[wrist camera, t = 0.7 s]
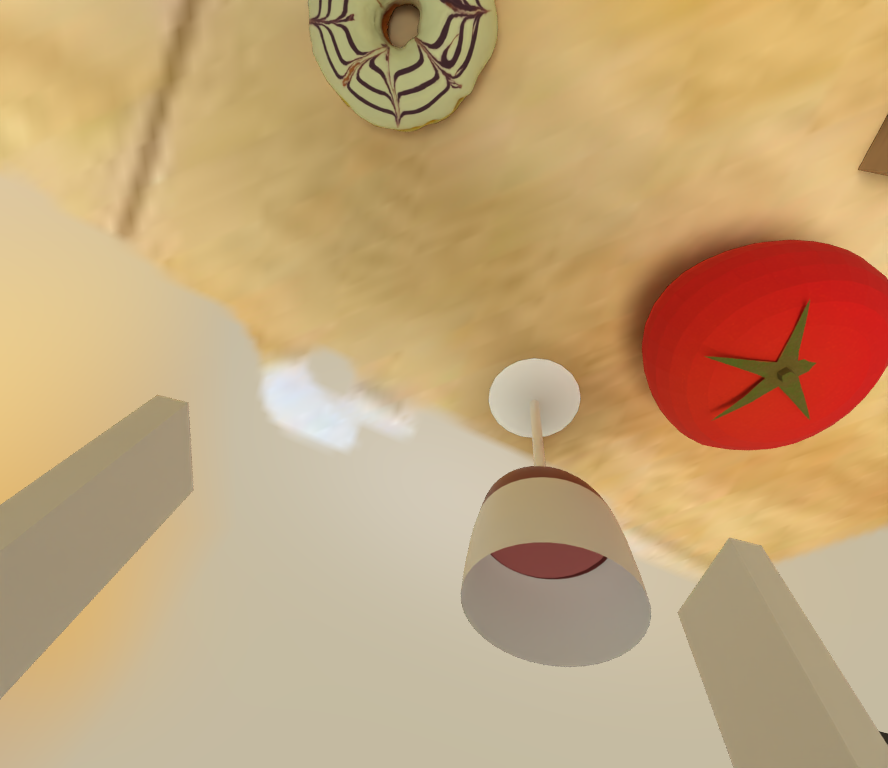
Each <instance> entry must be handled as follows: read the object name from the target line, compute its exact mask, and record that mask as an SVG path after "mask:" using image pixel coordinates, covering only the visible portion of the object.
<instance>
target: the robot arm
mask: <svg viewBox="0 0 888 768" xmlns="http://www.w3.org/2000/svg"><path fill="white" fill-rule="evenodd" d="M192 491H193V473H192V456H191V439H190V421H189V405H188V403H187V402H184V401H180V400H176V399H172V398H168V397H164V396H160V395H157V396H155V397H154V398H152V399H151V400H149V401H148V402H147V403H145V404H144V405H142V406H141V407H140V408H138V409H137V410H135V411H134V412H132V413H131V414H129V415H128V416H127V417H125V418H124V419H122V420H121V421H119V422H118V423H117V424H115V425H114V426H112V427H111V428H110V429H108V430H107V431H105V432H104V433H102V434H101V435H99V436H98V437H97V438H95V439H94V440H92V441H91V442H89V443H88V444H87V445H85V446H84V447H82V448H81V449H79V450H78V451H77V452H75V453H74V454H72V455H71V456H69V457H68V458H67V459H65V460H64V461H62V462H61V463H60V464H58V465H57V466H55V467H54V468H52V469H51V470H49V471H48V472H47V473H45V474H44V475H42V476H41V477H40V478H38V479H37V480H35V481H34V482H32V483H31V484H30V485H28V486H27V487H25V488H24V489H22V490H21V491H19V492H18V493H17V494H15V495H14V496H13V497H11V498H10V499H8V500H7V501H5V502H4V503H2V504H1V505H0V699H1V698H2V697H3V696H4V694H5V693H6V692H7V691H8V690H9V689H10V688H11V687H12V686H13V685H14V684H15V683H16V682H17V680H18V679H19V678H20V677H21V676H22V675H23V674H24V673H25V672H26V671H27V670H28V669H29V667H30V666H31V665H32V664H33V663H34V662H35V661H36V660H37V659H38V658H39V657H40V656H41V655H42V653H43V652H44V651H45V650H46V649H47V648H48V647H49V646H50V645H51V644H52V643H53V641H54V640H55V639H56V638H57V637H58V636H59V635H60V634H61V633H62V632H63V631H64V630H65V629H66V627H67V626H68V625H69V624H70V623H71V622H72V621H73V620H74V619H75V618H76V617H77V616H78V614H79V613H80V612H81V611H82V610H83V609H84V608H85V607H86V606H87V605H88V604H89V603H90V601H91V600H92V599H93V598H94V597H95V596H96V595H97V594H98V593H99V592H100V591H101V589H103V587H104V586H105V585H106V584H107V583H108V582H109V581H110V580H111V579H112V578H113V577H114V576H115V575H116V573H117V572H118V571H119V570H120V569H121V568H122V567H123V566H124V564H126V563H127V561H128V560H129V559H130V558H131V557H132V556H133V555H134V554H135V553H136V552H137V551H138V550H139V548H140V547H141V546H142V545H143V544H144V543H145V542H146V541H147V540H148V539H149V538H150V537H151V536H152V535H153V533H154V532H155V531H156V530H157V529H158V528H159V527H160V526H161V525H162V524H163V523H164V522H165V520H166V519H167V518H168V517H169V516H170V515H171V514H172V513H173V512H174V511H175V510H176V508H177V507H178V506H179V505H180V504H181V503H182V502H183V501H184V500H185V499H186V498H187V496H189V495H190V493H191V492H192ZM678 615H679V618H680V621H681V623H682V626H683V629H684V632H685V634H686V637H687V640H688V643H689V646H690V648H691V651H692V654H693V657H694V659H695V662H696V664H697V668H698V670H699V673H700V676H701V678H702V682H703V684H704V687H705V690H706V693H707V695H708V698H709V701H710V704H711V707H712V709H713V712H714V715H715V718H716V720H717V723H718V726H719V729H720V731H721V734H722V737H723V740H724V743H725V745H726V748H727V751H728V754H729V756H730V759H731V762H732V765H733V767H734V768H888V734H887V733H883V732H880V731H878V729H877V728H876V726H875V725H874V723H873V721H872V720H871V718H870V717H869V715H868V713H867V712H866V710H865V709H864V707H863V706H862V704H861V702H860V701H859V699H858V698H857V696H856V695H855V693H854V691H853V690H852V688H851V687H850V685H849V683H848V682H847V680H846V679H845V677H844V676H843V674H842V672H841V671H840V669H839V668H838V666H837V665H836V663H835V661H834V660H833V658H832V657H831V655H830V653H829V652H828V650H827V649H826V647H825V646H824V644H823V642H822V641H821V639H820V638H819V636H818V634H817V633H816V631H815V630H814V628H813V627H812V625H811V623H810V622H809V620H808V619H807V617H806V616H805V614H804V612H803V611H802V609H801V608H800V606H799V604H798V603H797V601H796V600H795V598H794V596H793V595H792V593H791V592H790V590H789V589H788V587H787V586H786V584H785V582H784V581H783V579H782V577H781V576H780V574H779V573H778V571H777V570H776V568H775V566H774V565H773V563H772V562H771V560H770V558H769V557H768V555H767V554H766V552H765V551H764V549H763V547H762V546H761V545H757V544H753V543H749V542H745V541H741V540H737V539H733V538H729V539H728V540H727V541H726V543H725V544H724V546H723V547H722V549H721V550H720V552H719V553H718V555H717V556H716V557H715V559H714V560H713V562H712V563H711V565H710V566H709V568H708V569H707V571H706V572H705V573H704V575H703V576H702V578H701V579H700V581H699V582H698V584H697V585H696V587H695V588H694V590H693V591H692V593H691V594H690V595H689V597H688V598H687V600H686V601H685V603H684V604H683V605H682V607H681V608H680V610H679V611H678Z"/></svg>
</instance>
